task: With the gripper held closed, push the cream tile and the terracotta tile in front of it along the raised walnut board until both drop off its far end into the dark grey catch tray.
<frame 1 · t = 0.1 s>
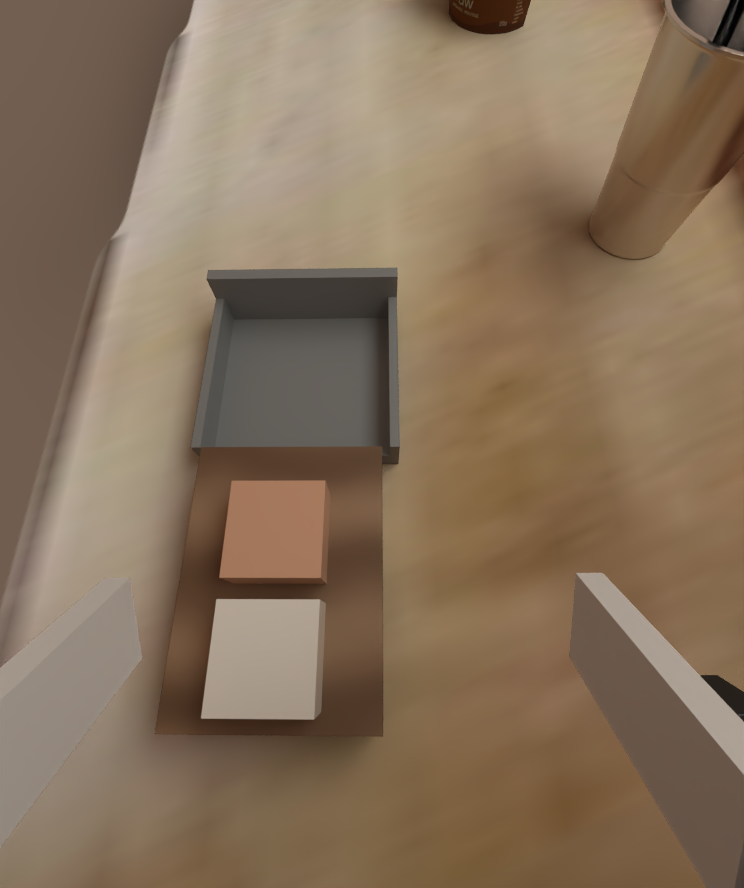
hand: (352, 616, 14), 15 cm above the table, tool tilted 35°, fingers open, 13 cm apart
walnut board: (294, 582, 29), on the table
utensil holder: (621, 237, 40), on the table
food container: (472, 23, 53), on the table
catch tray: (307, 384, 35), on the table
cream tile: (274, 655, 24), point 4 cm above the table, touching walnut board
terracotta tile: (283, 537, 26), point 4 cm above the table, touching walnut board
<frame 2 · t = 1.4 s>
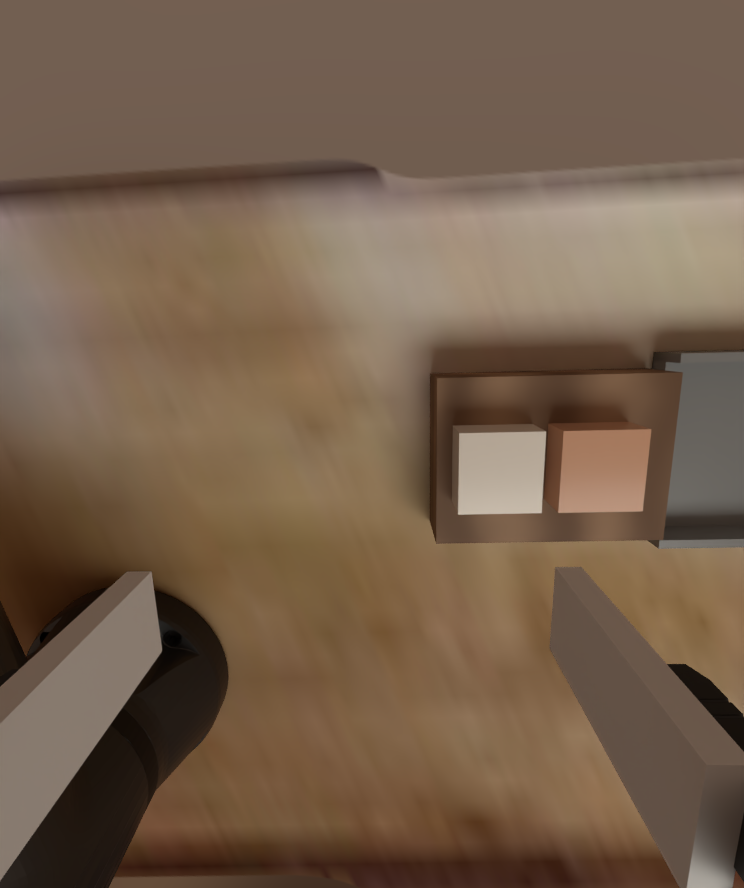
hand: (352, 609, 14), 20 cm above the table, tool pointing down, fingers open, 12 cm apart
walnut board: (533, 447, 34), on the table
catch tray: (733, 443, 33), on the table
cream tile: (491, 463, 30), point 4 cm above the table, touching walnut board
terracotta tile: (585, 461, 30), point 4 cm above the table, touching walnut board
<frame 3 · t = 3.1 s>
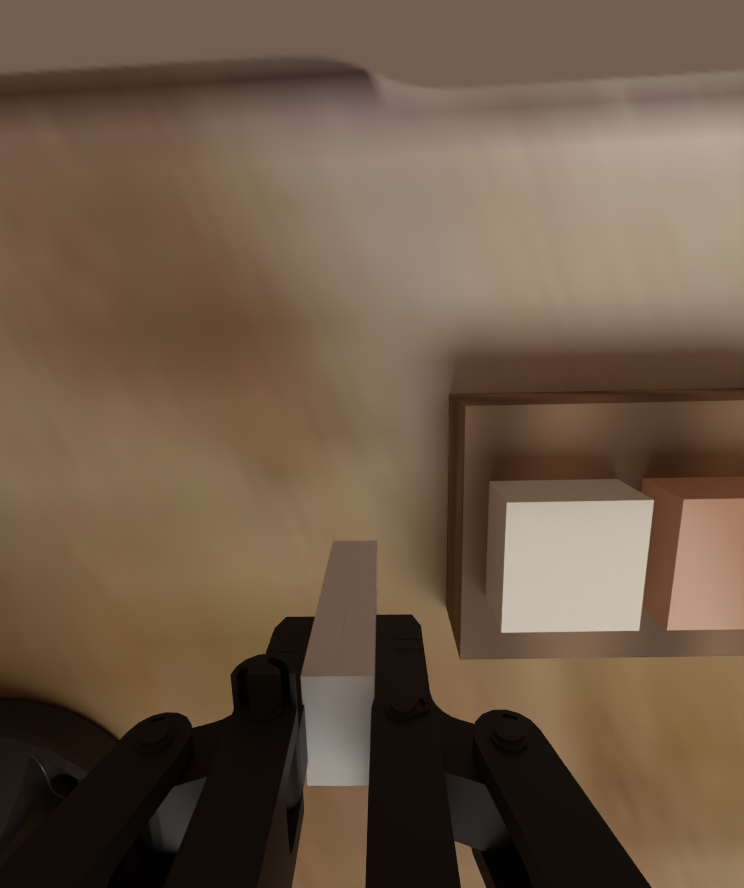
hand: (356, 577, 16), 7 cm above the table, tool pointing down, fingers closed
walnut board: (601, 503, 23), on the table
cream tile: (549, 539, 19), point 4 cm above the table, touching walnut board
terracotta tile: (698, 536, 19), point 4 cm above the table, touching walnut board
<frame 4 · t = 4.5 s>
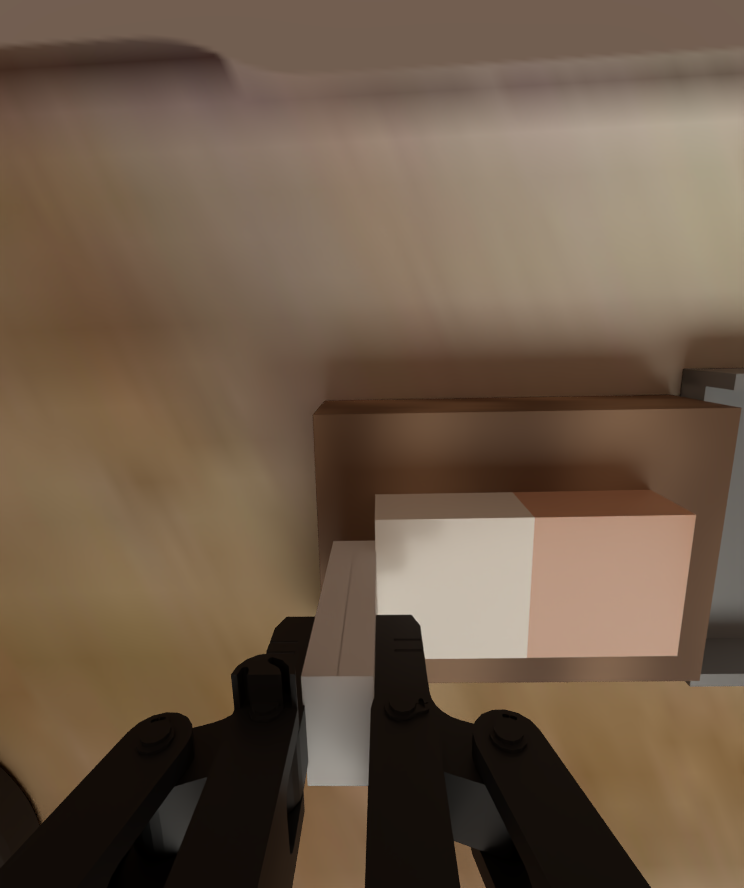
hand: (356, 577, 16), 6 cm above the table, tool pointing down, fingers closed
walnut board: (492, 516, 21), on the table
cream tile: (442, 556, 18), point 4 cm above the table, touching gripper, terracotta tile
terracotta tile: (576, 554, 18), point 4 cm above the table, touching cream tile, walnut board
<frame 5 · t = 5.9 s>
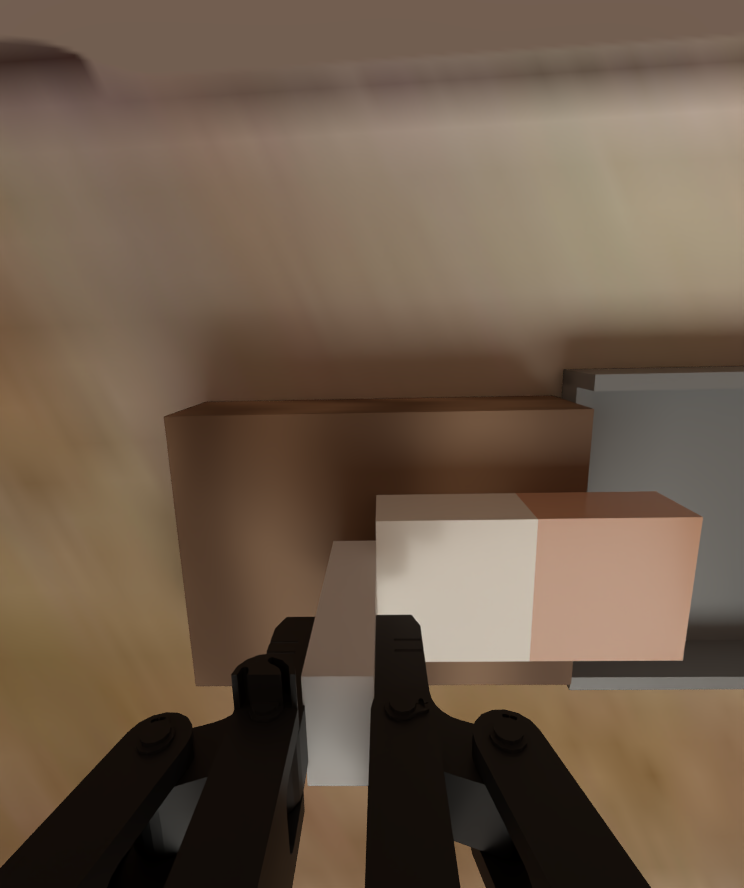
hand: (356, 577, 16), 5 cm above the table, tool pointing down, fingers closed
walnut board: (379, 518, 21), on the table
catch tray: (694, 514, 21), on the table
cream tile: (444, 557, 17), point 4 cm above the table, touching gripper, terracotta tile
terracotta tile: (579, 556, 17), point 4 cm above the table, touching cream tile
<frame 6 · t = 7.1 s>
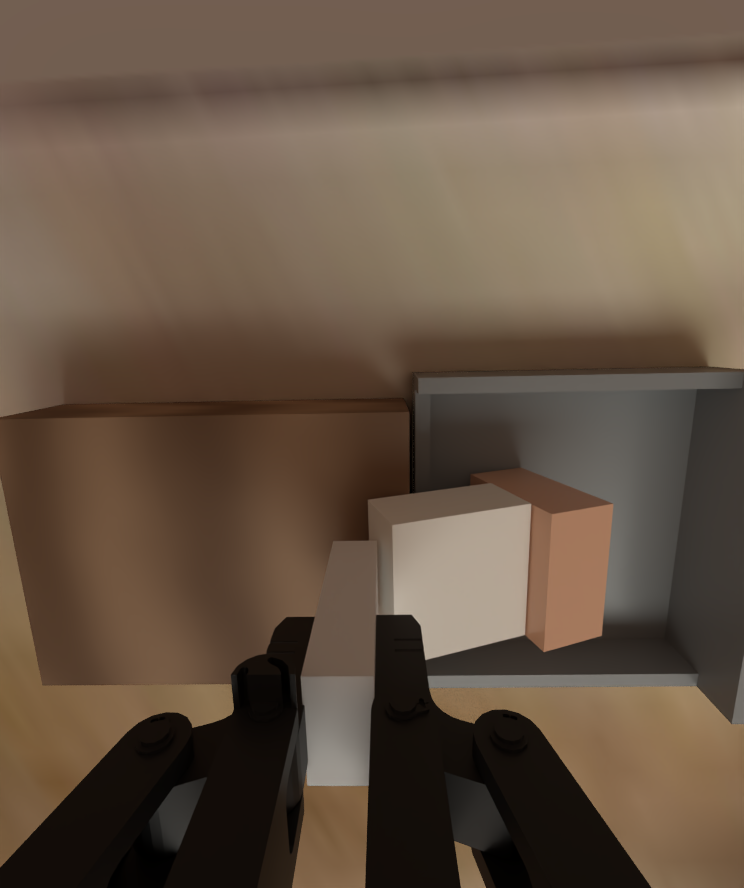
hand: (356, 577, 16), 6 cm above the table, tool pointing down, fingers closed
walnut board: (242, 519, 22), on the table
catch tray: (550, 515, 21), on the table
cream tile: (431, 553, 18), point 4 cm above the table, tilted 19°, touching gripper, walnut board
terracotta tile: (503, 554, 18), point 4 cm above the table, tilted 110°, touching catch tray
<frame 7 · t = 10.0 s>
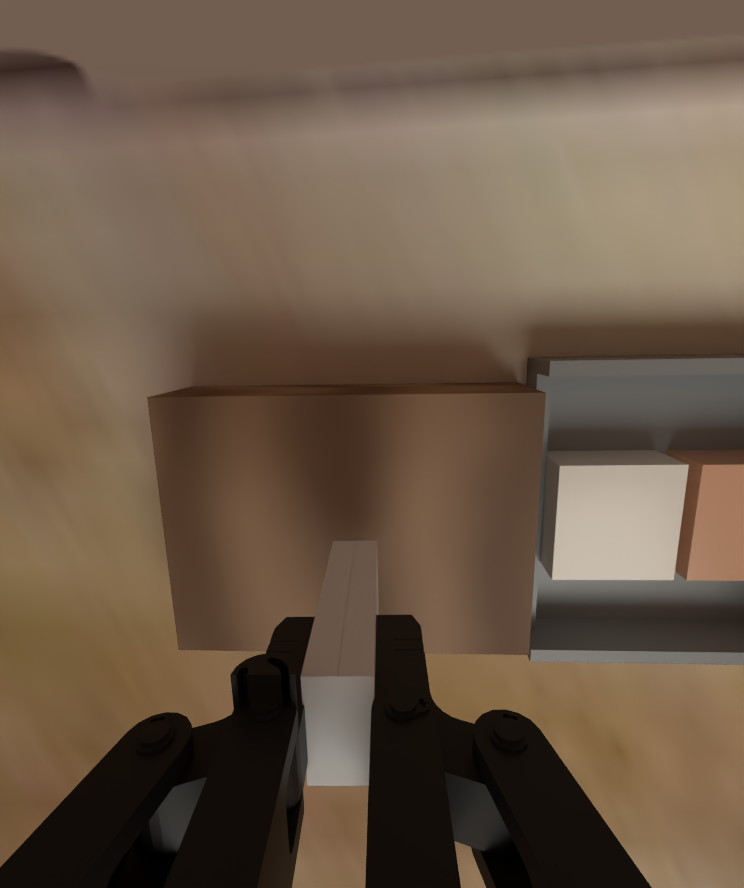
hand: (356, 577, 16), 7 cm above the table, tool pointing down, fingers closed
walnut board: (354, 498, 23), on the table
catch tray: (655, 498, 22), on the table
cream tile: (592, 503, 21), point 1 cm above the table, touching catch tray
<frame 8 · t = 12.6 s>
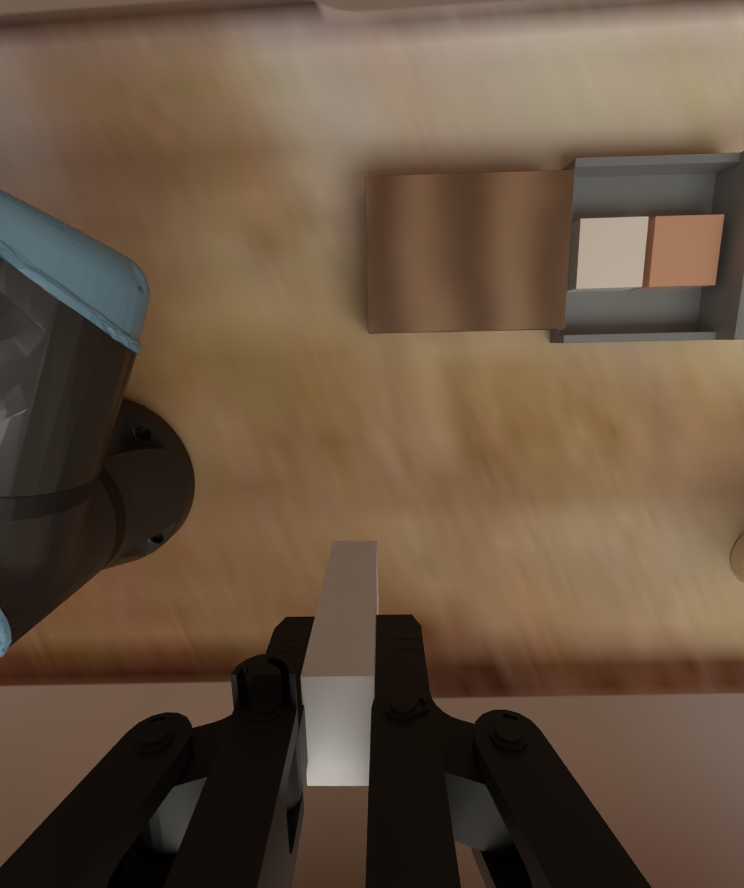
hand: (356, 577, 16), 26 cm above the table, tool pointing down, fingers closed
walnut board: (458, 263, 39), on the table
catch tray: (632, 258, 38), on the table
cream tile: (596, 258, 38), point 1 cm above the table, touching catch tray
terracotta tile: (686, 251, 35), point 3 cm above the table, tilted 180°, touching catch tray
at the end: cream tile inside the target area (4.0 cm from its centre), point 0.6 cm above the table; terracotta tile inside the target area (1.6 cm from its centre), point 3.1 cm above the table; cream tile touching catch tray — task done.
